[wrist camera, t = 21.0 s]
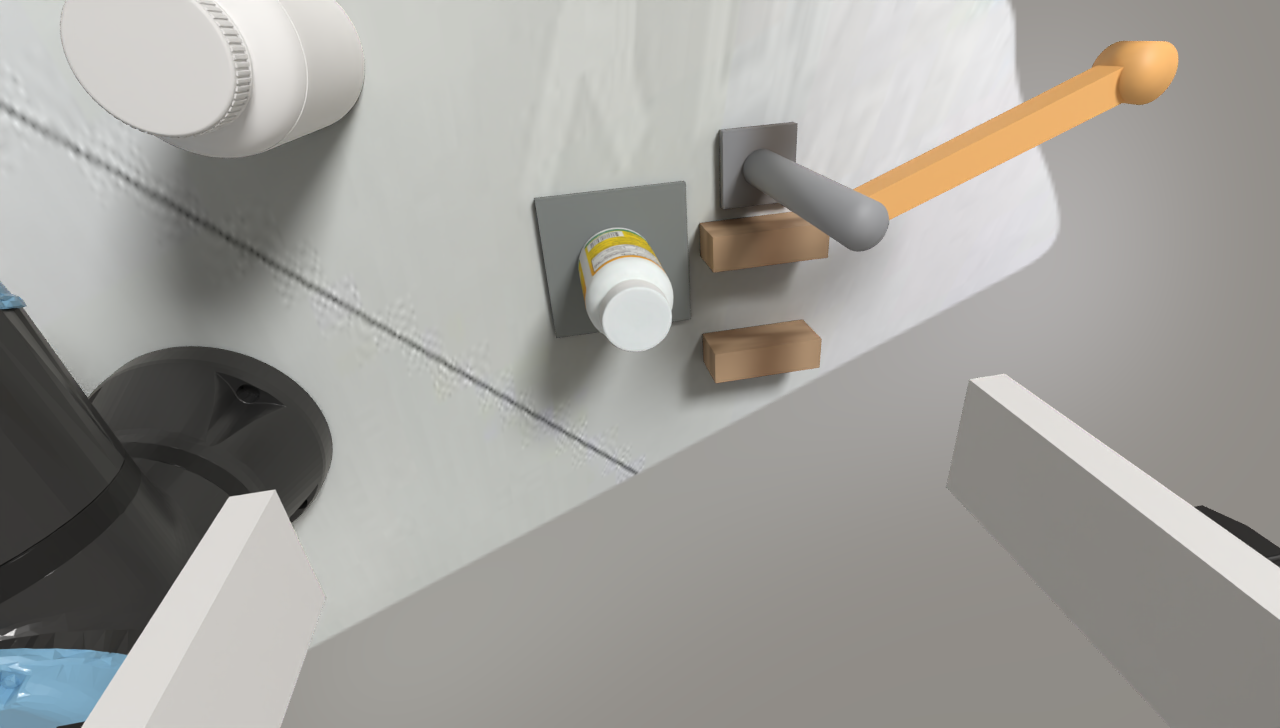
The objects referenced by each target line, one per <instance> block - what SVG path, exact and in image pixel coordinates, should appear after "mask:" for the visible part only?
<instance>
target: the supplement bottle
mask: <svg viewBox="0 0 1280 728" xmlns="http://www.w3.org/2000/svg"><path fill="white" fill-rule="evenodd" d="M578 270H579V276H580V281H581V286H582V290H583V295H584V301H585V307H586V310H587V313H588V316H589V318H590V320H591V322H592V323H593V325H594V326H595V327H596V328H597V329H598V330H599V331H600V332H601V333H602V334H604V335H605V336H606V337H607V339H608V340H609V341H610V342H611V343H612V344H613V345H614V346H616V347H618V348H620V349H622V350H625V351H630V352H640V351H645V350H648V349H651V348H653V347H654V346H656V345H658V344H659V343H660V342H661V341H662V340H663V339H664V338H665V337H666V335H667V333H668V332H669V329H670V326H671V322H672V312H671V311H672V307H673V289H672V285H671V283H670V280H669V278H668V276H667V275H666V273H665V271H664V269H663V268H662V266H661V264H660V263H659V261H658V259H657V257H656V256H655V254H654V252H653V250H652V249H651V247H650V245H649V244H648V242H647V241H646V240H645V239H644V238H643V237H642V236H641V235H640V234H638V233H636V232H635V231H632V230H630V229H626V228H609V229H605V230H602V231H600V232H598V233H596V234H595V235H593V236H592V237H591V238H590V239H589V240H588V241H587V242H586V244H585V245H584V247H583V248H582V250H581V253H580V256H579V261H578Z"/></svg>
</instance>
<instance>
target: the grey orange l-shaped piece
mask: <svg viewBox="0 0 1280 728" xmlns="http://www.w3.org/2000/svg"><path fill="white" fill-rule="evenodd" d="M1177 67H1178V53H1177V50H1176V49H1175V47H1174V46H1173V45H1172V44H1171V43H1169V42H1165V41H1119V42H1116V43H1114V44H1112V45H1110V46H1109V47H1107V48H1106V49H1105V50H1104V51H1103V52H1102V53H1101V54H1100V55H1099V56H1098V57H1097V59H1096V60H1095V62H1094V64H1093V66H1092V68H1091V69H1089V70H1087V71H1085V72H1083V73H1081V74H1079V75H1077V76H1075V77H1073V78H1071V79H1069V80H1067V81H1065V82H1063V83H1061V84H1059V85H1057V86H1055V87H1054V88H1052V89H1050V90H1048V91H1046V92H1044V93H1042V94H1040V95H1038V96H1036V97H1034V98H1032V99H1030V100H1028V101H1026V102H1024V103H1022V104H1020V105H1018V106H1016V107H1014V108H1012V109H1010V110H1008V111H1006V112H1004V113H1002V114H1000V115H998V116H997V117H995V118H993V119H991V120H989V121H987V122H985V123H983V124H981V125H979V126H977V127H975V128H973V129H971V130H969V131H967V132H965V133H963V134H961V135H959V136H957V137H955V138H953V139H951V140H949V141H947V142H945V143H943V144H942V145H940V146H938V147H936V148H934V149H932V150H930V151H928V152H926V153H924V154H922V155H920V156H918V157H916V158H914V159H912V160H910V161H908V162H906V163H904V164H902V165H900V166H898V167H896V168H894V169H892V170H890V171H888V172H887V173H885V174H883V175H881V176H879V177H877V178H875V179H873V180H871V181H869V182H867V183H865V184H863V185H861V186H859V187H857V188H855V189H850V188H848V187H846V186H844V185H842V184H840V183H838V182H836V181H833V180H831V179H829V178H827V177H825V176H823V175H821V174H818V173H816V172H814V171H812V170H810V169H808V168H806V167H804V166H801V165H799V164H797V163H795V162H793V161H791V160H789V159H787V158H784V157H782V156H780V155H778V154H776V153H774V152H772V151H770V150H767V149H759V150H756V151H754V152H752V153H751V154H750V155H749V156H748V157H747V159H746V160H745V163H744V166H743V174H744V177H745V179H746V181H747V182H748V183H749V184H751V185H753V186H754V187H756V188H757V189H759V190H760V191H762V192H763V193H765V194H766V195H768V196H769V197H771V198H772V199H774V200H775V201H777V202H778V203H780V204H781V205H783V206H784V207H786V208H787V209H789V210H790V211H792V212H794V213H795V214H797V215H798V216H800V217H801V218H803V219H804V220H806V221H807V222H809V223H810V224H812V225H813V226H815V227H816V228H818V229H819V230H821V231H822V232H824V233H825V234H827V235H828V236H830V237H832V238H833V239H835V240H836V241H838V242H839V243H841V244H842V245H844V246H845V247H847V248H848V249H850V250H853V251H865V250H868V249H870V248H872V247H874V246H875V245H877V244H878V243H879V242H880V241H881V240H882V238H883V237H884V235H885V233H886V231H887V229H888V225H889V220H890V219H892V218H894V217H896V216H898V215H900V214H902V213H904V212H906V211H908V210H910V209H912V208H914V207H916V206H918V205H920V204H922V203H924V202H926V201H928V200H930V199H932V198H934V197H936V196H938V195H940V194H942V193H944V192H946V191H948V190H950V189H952V188H954V187H956V186H958V185H960V184H962V183H964V182H966V181H968V180H970V179H972V178H974V177H976V176H978V175H980V174H982V173H984V172H986V171H988V170H990V169H992V168H994V167H996V166H998V165H1000V164H1002V163H1003V162H1005V161H1007V160H1009V159H1011V158H1013V157H1015V156H1017V155H1019V154H1021V153H1023V152H1025V151H1027V150H1029V149H1031V148H1033V147H1035V146H1037V145H1039V144H1041V143H1043V142H1045V141H1047V140H1049V139H1051V138H1053V137H1055V136H1057V135H1059V134H1061V133H1063V132H1065V131H1067V130H1069V129H1071V128H1073V127H1075V126H1077V125H1079V124H1081V123H1083V122H1085V121H1087V120H1089V119H1091V118H1093V117H1095V116H1097V115H1099V114H1101V113H1103V112H1105V111H1107V110H1109V109H1111V108H1113V107H1115V106H1117V105H1119V104H1121V103H1128V104H1136V105H1143V104H1147V103H1149V102H1152V101H1153V100H1155V99H1156V98H1158V97H1159V96H1160V95H1161V94H1162V93H1163V92H1164V91H1165V90H1166V89H1167V88H1168V86H1169V85H1170V84H1171V82H1172V80H1173V78H1174V76H1175V74H1176V71H1177Z"/></svg>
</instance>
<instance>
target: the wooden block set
mask: <svg viewBox="0 0 1280 728" xmlns="http://www.w3.org/2000/svg"><path fill="white" fill-rule="evenodd" d="M719 140H720V207H722V208H723V209H729V208H737V207H746V206H754V205H762V204H771V203H778V202H777V201H775V200H774V199H772V198H771V197H769V196H768V195H766V194H765V193H763V192H762V191H760V190H759V189H757V188H756V187H754V186H753V185H751V184H749V183H748V182H747V181H746V179H745V177H744V174H743V166H744V163H745V160H746V159H747V157H748V156H749V155H750V154H751V153H752V152H754V151H756V150H759V149H767V150H770V151H772V152H774V153H776V154H778V155H780V156H782V157H784V158H787V159H789V160H791V161H793V162H795V163H796V144H797V123H794V122H788V123H779V124H770V125H760V126H751V127H741V128H732V129H723V130H719ZM828 249H829V236H828V235H827V234H825V233H824V232H822V231H821V230H819V229H818V228H816V227H815V226H813V225H812V224H810V223H809V222H807V221H806V220H804V219H803V218H801V217H800V216H798V215H797V214H795V213H794V212H786V213H778V214H770V215H762V216H754V217H745V218H737V219H729V220H721V221H713V222H705V223H700V256H701V257H702V259H703V260H704V261H705V262H706V264H707V265H708V266H709V267H710V269H711V270H712V271H713V272H714V273H715V272H722V271H730V270H737V269H745V268H752V267H760V266H768V265H775V264H783V263H790V262H798V261H805V260H813V259H821V258H828ZM821 340H822V339H821V338H820V337H819V336H818V335H817V334H816V333H815V332H814V331H813V330H812V329H811V328H810V327H809V326H808V325H807V324H806V322H805V321H804V320H796V321H789V322H782V323H775V324H768V325H761V326H754V327H747V328H740V329H733V330H726V331H719V332H712V333H705V334H703V361H704V363H705V365H706V367H707V369H708V370H709V372H710V374H711V376H712V378H713V380H714V381H715V383H721V382H728V381H734V380H741V379H747V378H754V377H760V376H767V375H773V374H780V373H787V372H793V371H800V370H806V369H813V368H819V365H820V353H821Z"/></svg>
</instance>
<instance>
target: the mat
mask: <svg viewBox="0 0 1280 728" xmlns="http://www.w3.org/2000/svg"><path fill="white" fill-rule="evenodd" d="M534 199H535V206H536V212H537V218H538V225H539V231H540V237H541V244H542V250H543V256H544V263H545V269H546V275H547V282H548V288H549V294H550V301H551V307H552V313H553V320H554V326H555V332H556V338H560V337H567V336H574V335H581V334H589V333H596V332H600V331H599V330H598V329H597V328H596V327H595V326H594V325H593V323H592V322H591V320H590V318H589V316H588V313H587V310H586V307H585V301H584V295H583V290H582V286H581V281H580V276H579V270H578V261H579V256H580V253H581V250H582V248H583V247H584V245H585V244H586V242H587V241H588V240H589V239H590V238H591V237H592V236H593V235H595V234H596V233H598V232H600V231H602V230H605V229H609V228H626V229H630V230H632V231H635V232H636V233H638V234H640V235H641V236H642V237H643V238H644V239H645V240H646V241H647V242H648V244H649V245H650V247H651V249H652V250H653V252H654V254H655V256H656V257H657V259H658V261H659V263H660V264H661V266H662V268H663V269H664V271H665V273H666V275H667V276H668V278H669V280H670V283H671V285H672V289H673V307H672V311H671V312H672V322H674V321H681V320H689V319H691V313H690V287H689V261H688V234H687V208H686V182H684V181H679V182H670V183H661V184H653V185H644V186H635V187H627V188H618V189H609V190H600V191H592V192H583V193H574V194H566V195H557V196H548V197H539V198H534Z"/></svg>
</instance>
